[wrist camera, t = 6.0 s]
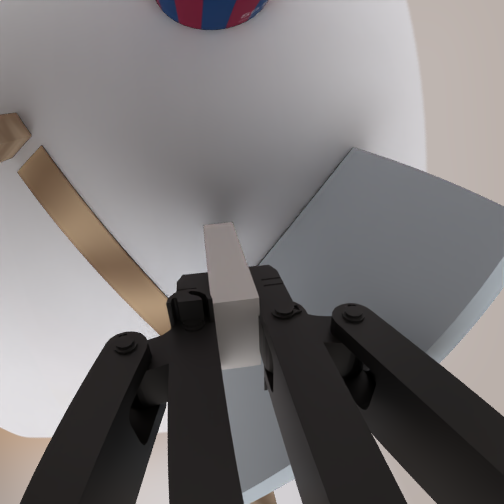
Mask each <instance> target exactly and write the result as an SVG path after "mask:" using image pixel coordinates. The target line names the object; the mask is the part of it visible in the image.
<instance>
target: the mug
mask: <svg viewBox="0 0 504 504" xmlns="http://www.w3.org/2000/svg"><path fill="white" fill-rule="evenodd" d="M156 2H157V4H158V5H159V7H160V8H161V10H162V11H163V12H164V13H165V14H166V15H167V16H169V17H170V18H171V19H173V20H174V21H176V22H178V23H180V24H183V25H185V26H188V27H192V28H196V29H203V30H218V29H225V28H229V27H233V26H237V25H239V24H241V23H244V22H246V21H248V20H249V19H251V18H252V17H254V16H255V15H256V14H257V13H258V12H260V11H261V10H262V8H263V7H264V6H265V4H266V3H267V2H268V0H156Z"/></svg>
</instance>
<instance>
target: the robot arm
mask: <svg viewBox="0 0 504 504" xmlns="http://www.w3.org/2000/svg"><path fill="white" fill-rule="evenodd" d="M203 228H204V239H205V249H206V259H207V269H208V272H206V273H197V274H187V275H182V277H181V278H180V279H179V280H178V282H177V291H176V293H174V294H173V295H171V296H170V297H169V298H168V300H167V302H166V306H167V311H168V315H169V320H170V324H171V329H170V330H169V331H168V332H166V333H165V334H163V335H161V336H159V337H156V338H153V339H149V340H147V339H146V337H145V336H144V335H142V334H141V333H138V332H123V333H120V334H117V335H115V336H114V337H112V338H111V339H110V340H109V341H108V342H107V343H106V344H105V346H104V348H103V349H102V351H101V353H100V354H99V356H98V357H97V359H96V361H95V362H94V364H93V366H92V367H91V369H90V371H89V372H88V374H87V376H86V378H85V379H84V381H83V383H82V384H81V386H80V388H79V390H78V391H77V393H76V395H75V397H74V398H73V400H72V402H71V404H70V405H69V407H68V409H67V411H66V413H65V414H64V416H63V418H62V420H61V422H60V424H59V425H58V427H57V429H56V431H55V433H54V435H53V437H52V439H51V441H50V443H49V444H48V446H47V448H46V450H45V452H44V454H43V456H42V458H41V460H40V462H39V464H38V466H37V468H36V470H35V472H34V474H33V476H32V478H31V481H30V483H29V485H28V487H27V489H26V491H25V493H24V495H23V498H22V500H21V502H20V504H135V503H136V500H137V496H138V493H139V490H140V487H141V484H142V481H143V477H144V474H145V471H146V467H147V464H148V461H149V458H150V455H151V452H152V448H153V445H154V442H155V439H156V435H157V433H158V430H159V427H160V424H161V421H162V418H163V414H164V411H165V408H166V402H168V477H169V478H168V479H169V503H170V504H244V501H243V495H242V490H241V485H240V480H239V474H238V469H237V463H236V457H235V452H234V446H233V440H232V434H231V428H230V422H229V415H228V409H227V403H226V396H225V389H224V383H223V376H222V370H225V369H233V368H241V367H248V366H255V365H261V357H262V361H263V364H264V391H265V390H268V391H269V394H270V398H271V401H272V405H273V408H274V411H275V415H276V418H277V422H278V425H279V428H280V432H281V435H282V438H283V441H284V445H285V448H286V451H287V455H288V458H289V461H290V464H291V468H292V471H293V474H294V477H295V481H296V484H297V487H298V490H299V493H300V497H301V499H302V503H303V504H407V502H406V500H405V498H404V496H403V494H402V492H401V490H400V488H399V486H398V484H397V482H396V481H395V478H394V476H393V474H392V472H391V470H390V468H389V467H388V465H387V463H386V461H385V459H384V457H383V455H382V453H381V451H380V449H379V447H378V445H377V443H376V441H375V439H374V437H373V435H374V436H375V438H376V439H377V440H378V441H379V442H380V443H381V444H382V445H383V446H384V447H385V449H386V450H387V451H388V452H389V453H390V454H391V455H392V456H393V457H394V458H395V459H396V460H397V461H398V462H399V464H400V465H401V466H402V467H403V468H404V469H405V470H406V471H407V472H408V473H409V474H410V476H412V478H413V479H414V480H415V481H416V482H417V483H418V484H419V485H420V486H421V487H422V488H423V489H424V490H425V491H426V492H427V494H428V495H429V496H431V498H432V499H433V500H434V501H435V502H436V503H437V504H504V417H503V416H502V415H501V414H500V413H498V412H497V411H496V410H495V409H494V408H492V407H491V406H490V405H489V404H488V403H486V402H485V401H484V400H483V399H482V398H481V397H479V396H478V395H477V394H476V393H474V392H473V391H472V390H471V389H470V388H468V387H467V386H466V385H465V384H464V383H462V382H461V381H460V380H459V379H457V378H456V377H455V376H454V375H452V374H451V373H450V372H449V371H447V370H446V369H445V368H444V367H442V366H441V365H440V364H439V363H438V362H436V361H435V360H434V359H433V358H431V357H430V356H429V355H428V354H426V353H425V352H424V351H422V350H421V349H420V348H419V347H417V346H416V345H415V344H414V343H412V342H411V341H410V340H409V339H407V338H406V337H405V336H404V335H402V334H401V333H400V332H398V331H397V330H396V329H395V328H393V327H392V326H391V325H389V324H388V323H387V322H386V321H384V320H383V319H382V318H380V317H379V316H378V315H377V314H375V313H374V312H373V311H371V310H370V309H369V308H367V307H365V306H363V305H360V304H356V303H346V304H341V305H339V306H337V307H335V308H334V310H333V311H332V316H316V315H310V314H307V312H306V310H305V309H304V308H303V306H302V305H300V304H298V303H296V302H293V300H292V298H291V296H290V294H289V292H288V291H287V289H286V287H285V285H284V283H283V281H282V279H281V277H280V275H279V273H278V271H277V270H276V269H275V268H273V267H272V266H270V265H261V266H252V267H248V265H247V262H246V259H245V256H244V253H243V250H242V248H241V245H240V242H239V239H238V236H237V233H236V231H235V228H234V225H233V222H228V223H218V224H208V225H203ZM371 433H372V434H373V435H372V434H371Z"/></svg>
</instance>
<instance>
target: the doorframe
mask: <svg viewBox="0 0 504 504" xmlns="http://www.w3.org/2000/svg"><path fill="white" fill-rule="evenodd" d="M30 137H31V134H30V133H29V131H28V130H27V128H26V127H25V125H24V124H23V122H22V121H21V119H20V118H19V116H18V115H17V113H9V114H1V115H0V162H3V161H5V160H8V159H10V158H13V156H14V155H15V154H16V153H17V152H18V151H19V149H20V148H21V147H22V146H23V145H24V144H25V143H26V142H27V140H28V139H29V138H30ZM17 173H18V174H19V175H20V177H21V178H22V180H23V181H24V182H25V184H26V185H27V186H28V188H29V189H30V191H31V192H32V193H33V195H34V196H35V197H36V199H37V200H38V201H39V202H40V204H41V205H42V206H43V208H44V209H45V210H46V211H47V213H48V214H49V215H50V217H51V218H52V219H53V220H54V222H55V223H56V224H57V225H58V226H59V228H60V229H61V230H62V231H63V233H64V234H65V235H66V236H67V237H68V239H69V240H70V241H71V242H72V243H73V244H74V246H75V247H76V248H77V249H78V250H79V251H80V253H81V254H82V255H83V256H84V257H85V258H86V259H87V261H88V262H89V263H90V264H91V265H92V266H93V267H94V268H95V269H96V271H97V272H98V273H99V274H100V275H101V276H102V277H103V278H104V279H105V280H106V281H107V282H108V284H109V285H110V286H111V287H112V288H113V289H114V290H115V291H116V292H117V293H118V294H119V295H120V296H121V297H122V298H123V299H124V300H125V301H126V302H127V303H128V304H129V305H130V306H131V307H132V308H133V309H134V310H135V311H136V312H137V313H138V314H139V315H140V316H141V317H142V318H143V319H144V320H145V321H146V322H147V323H148V324H149V325H150V326H151V327H152V328H153V329H154V330H155V331H156V332H157V333H158V334H159V335H160V336H161V335H163V334H165V333H166V332H168V331H169V330H170V329H171V324H170V320H169V315H168V311H167V306H166V302H167V300H168V298H167V297H166V296H165V295H164V294H163V293H162V291H161V290H160V289H159V288H158V287H157V286H156V285H155V284H154V283H153V282H152V281H151V280H150V278H149V277H148V276H147V275H146V274H145V273H144V272H143V271H142V270H141V268H140V267H139V266H138V265H137V264H136V263H135V262H134V261H133V259H132V258H131V257H130V256H129V255H128V254H127V253H126V251H125V250H124V249H123V248H122V247H121V246H120V245H119V243H118V242H117V241H116V240H115V239H114V237H113V236H112V235H111V234H110V233H109V232H108V230H107V229H106V228H105V227H104V226H103V224H102V223H101V222H100V221H99V219H98V218H97V217H96V216H95V215H94V213H93V212H92V211H91V210H90V208H89V207H88V206H87V205H86V203H85V202H84V201H83V200H82V198H81V197H80V196H79V194H78V193H77V192H76V191H75V189H74V188H73V187H72V185H71V184H70V183H69V182H68V180H67V179H66V178H65V176H64V175H63V174H62V172H61V171H60V170H59V168H58V167H57V166H56V164H55V163H54V161H53V160H52V159H51V157H50V156H49V155H48V153H47V152H46V150H45V149H44V148H43V146H40V147H39V148H38V149H37V151H36V152H35V153H34V154H33V155H32V156H31V157H30V158H29V159H28V160H27V162H26V163H25V164H24V165H23V166H22V167H21V168H20V170H19V171H18V172H17ZM250 504H277V503H276V499H275V495H274V492H273V491H272V492H271V493H269V494H267V495H265V496H263V497H261V498H259V499H258V500H256V501H254V502H252V503H250Z"/></svg>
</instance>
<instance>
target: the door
mask: <svg viewBox="0 0 504 504" xmlns="http://www.w3.org/2000/svg"><path fill="white" fill-rule="evenodd" d="M261 265H270V266H272V267H273V268H275V269H276V270H277V271H278V273H279V275H280V277H281V279H282V281H283V283H284V285H285V287H286V289H287V291H288V292H289V294H290V296H291V298H292V300H293V302H296V303H298V304H300V305H302V306H303V308H304V309H305V310H306V312H307V314H310V315H316V316H332V311H333V310H334V308H335V307H337V306H339V305H341V304H346V303H356V304H360V305H363V306H365V307H367V308H369V309H370V310H371V311H373V312H374V313H375V314H377V315H378V316H379V317H380V318H382V319H383V320H384V321H386V322H387V323H388V324H389V325H391V326H392V327H393V328H395V329H396V330H397V331H398V332H400V333H401V334H402V335H404V336H405V337H406V338H407V339H409V340H410V341H411V342H412V343H414V344H415V345H416V346H417V347H419V348H420V349H421V350H422V351H424V352H425V353H426V354H428V355H429V356H430V357H431V358H433V359H434V360H435V361H436V362H438V363H440V362H441V361H442V360H443V359H444V358H445V357H446V356H447V355H448V354H449V353H450V352H451V351H452V350H453V348H455V346H456V345H457V344H458V343H459V342H460V341H461V340H462V339H463V337H464V336H465V335H466V334H467V333H468V332H469V331H470V329H471V328H472V327H473V326H474V325H475V323H476V322H477V321H478V320H479V319H480V317H481V316H482V315H483V313H484V312H485V311H486V310H487V309H488V307H489V306H490V305H491V303H492V302H493V301H494V299H495V298H496V297H497V296H498V294H499V293H500V291H501V290H502V289H503V287H504V206H502V205H500V204H498V203H496V202H493V201H491V200H489V199H487V198H485V197H483V196H481V195H478V194H476V193H474V192H472V191H470V190H467V189H465V188H463V187H461V186H458V185H456V184H454V183H451V182H449V181H446V180H444V179H441V178H439V177H436V176H434V175H431V174H429V173H426V172H424V171H421V170H418V169H416V168H413V167H410V166H408V165H405V164H402V163H399V162H397V161H394V160H391V159H388V158H385V157H382V156H379V155H376V154H373V153H370V152H367V151H364V150H360V149H357V148H354V147H353V148H352V150H351V151H350V152H349V153H348V155H347V156H346V157H345V158H344V160H343V161H342V162H341V164H340V165H339V166H338V167H337V169H336V170H335V171H334V172H333V174H332V175H331V176H330V177H329V179H328V180H327V181H326V182H325V184H324V185H323V186H322V187H321V189H320V190H319V191H318V192H317V194H316V195H315V196H314V197H313V199H312V200H311V201H310V202H309V204H308V205H307V206H306V207H305V209H304V210H303V211H302V212H301V214H300V215H299V216H298V217H297V218H296V220H295V221H294V222H293V223H292V225H291V226H290V227H289V228H288V230H287V231H286V232H285V233H284V235H283V236H282V237H281V238H280V240H279V241H278V242H277V243H276V244H275V246H274V247H273V248H272V249H271V251H270V252H269V253H268V254H267V256H266V257H265V258H264V259H263V260H262V262H261V263H260V264H259V265H258V266H261ZM222 376H223V383H224V389H225V396H226V403H227V409H228V415H229V422H230V428H231V434H232V440H233V446H234V452H235V457H236V463H237V469H238V474H239V480H240V485H241V490H242V495H243V501H244V504H250V503H252V502H254V501H256V500H258V499H259V498H261V497H263V496H265V495H267V494H269V493H271V492H272V491H274V490H276V489H278V488H280V487H281V486H283V485H285V484H286V483H288V482H290V481H291V480H293V479H295V477H294V474H293V471H292V468H291V464H290V461H289V458H288V455H287V451H286V448H285V445H284V441H283V438H282V435H281V432H280V428H279V425H278V422H277V418H276V415H275V411H274V408H273V405H272V401H271V398H270V394H269V391H268V390H265V391H264V364H263V361H262V357H261V365H255V366H248V367H241V368H233V369H225V370H222Z"/></svg>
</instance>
